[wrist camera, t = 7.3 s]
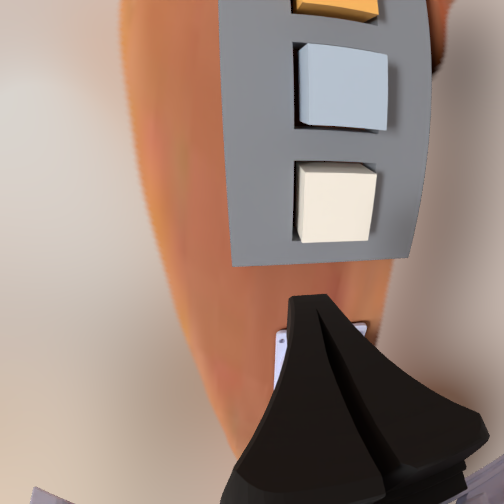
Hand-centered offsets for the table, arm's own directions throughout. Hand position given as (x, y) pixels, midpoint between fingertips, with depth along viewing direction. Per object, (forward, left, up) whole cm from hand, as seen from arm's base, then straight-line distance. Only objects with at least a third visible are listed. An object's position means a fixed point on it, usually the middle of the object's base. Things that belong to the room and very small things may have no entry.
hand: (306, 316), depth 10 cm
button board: (+8, -3, -9) cm, 13 cm away
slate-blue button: (+8, -3, -8) cm, 12 cm away
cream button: (+2, -3, -9) cm, 10 cm away
